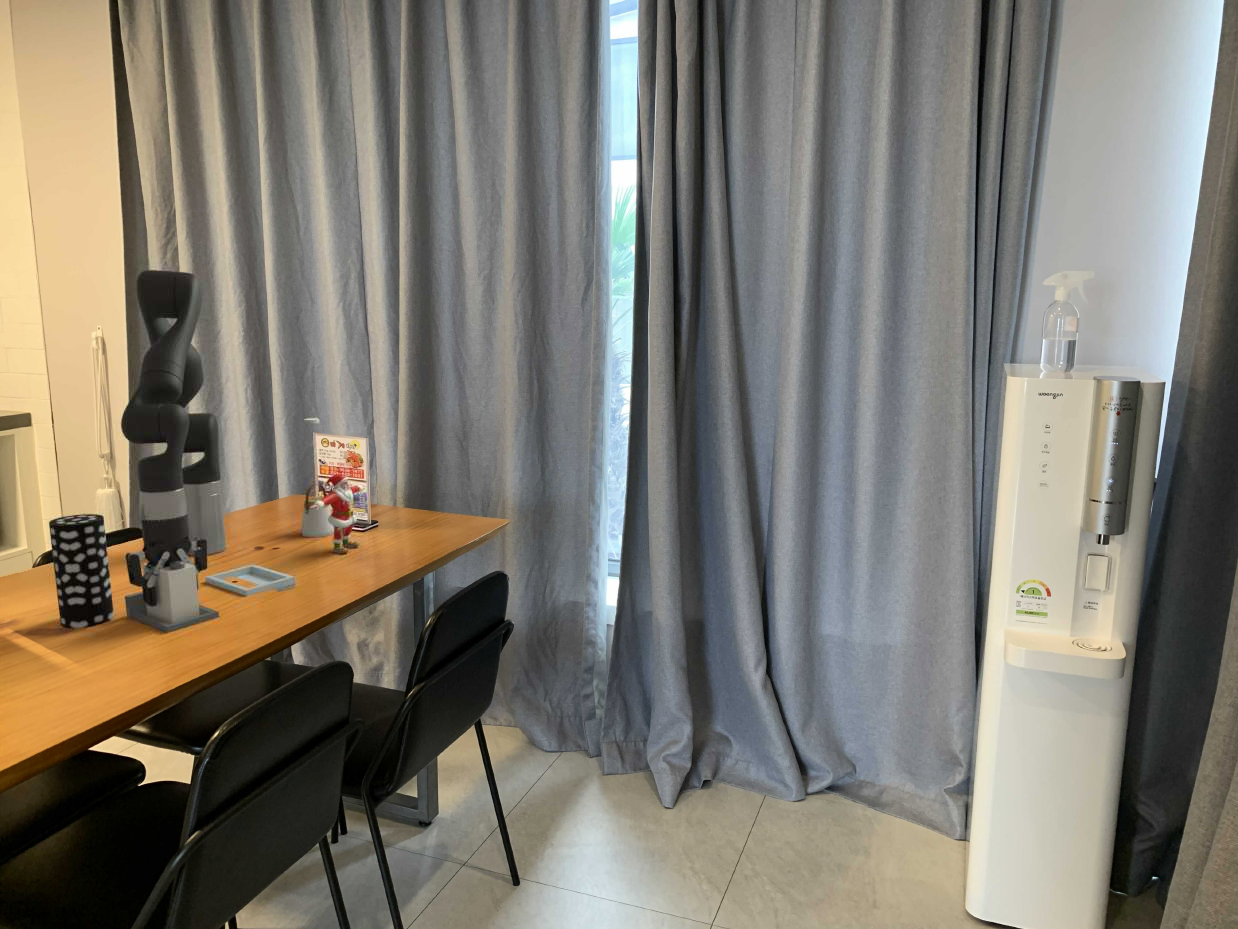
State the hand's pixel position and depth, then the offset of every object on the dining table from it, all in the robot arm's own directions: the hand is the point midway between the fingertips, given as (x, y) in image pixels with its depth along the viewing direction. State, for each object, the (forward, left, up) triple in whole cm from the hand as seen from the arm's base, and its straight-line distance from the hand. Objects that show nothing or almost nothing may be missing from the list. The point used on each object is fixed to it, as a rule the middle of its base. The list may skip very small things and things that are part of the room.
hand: (171, 599), depth 156 cm
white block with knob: (0, 0, -3) cm, 3 cm away
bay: (0, 0, -4) cm, 4 cm away
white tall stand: (-32, +55, -4) cm, 64 cm away
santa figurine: (-14, +49, -4) cm, 51 cm away
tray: (-7, +20, -4) cm, 22 cm away
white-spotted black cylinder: (-11, -10, -4) cm, 16 cm away
